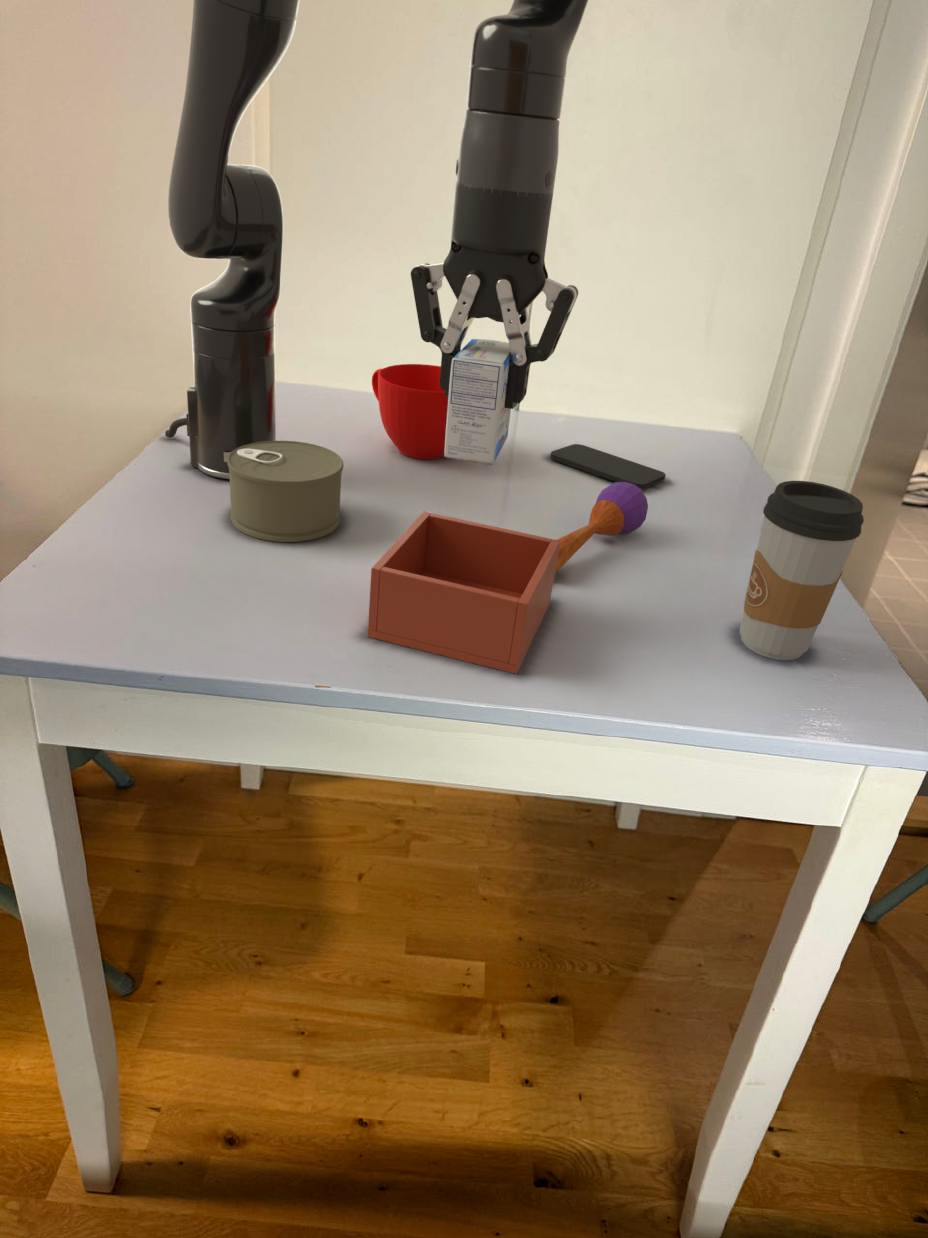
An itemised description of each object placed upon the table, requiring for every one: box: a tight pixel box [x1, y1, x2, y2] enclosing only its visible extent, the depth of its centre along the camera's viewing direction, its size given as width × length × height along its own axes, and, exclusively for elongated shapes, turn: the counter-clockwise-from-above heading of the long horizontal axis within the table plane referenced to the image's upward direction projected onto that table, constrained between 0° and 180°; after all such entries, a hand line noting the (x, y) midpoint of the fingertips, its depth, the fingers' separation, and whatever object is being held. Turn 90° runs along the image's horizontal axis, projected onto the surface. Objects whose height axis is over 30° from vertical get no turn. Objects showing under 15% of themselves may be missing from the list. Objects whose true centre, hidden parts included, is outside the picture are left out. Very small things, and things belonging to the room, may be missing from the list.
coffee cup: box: [739, 480, 865, 661], centre depth 81 cm, size 8×8×15 cm
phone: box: [549, 443, 666, 490], centre depth 122 cm, size 7×1×15 cm
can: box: [227, 440, 344, 543], centre depth 96 cm, size 12×12×7 cm
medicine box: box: [444, 338, 513, 466], centre depth 77 cm, size 8×4×9 cm, turn 169°
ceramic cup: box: [371, 363, 448, 460], centre depth 120 cm, size 13×17×10 cm
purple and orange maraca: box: [555, 482, 649, 574], centre depth 98 cm, size 6×6×20 cm
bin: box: [367, 511, 560, 675], centre depth 81 cm, size 14×14×7 cm
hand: (481, 399), depth 77 cm, fingers closed on medicine box, 4 cm apart
